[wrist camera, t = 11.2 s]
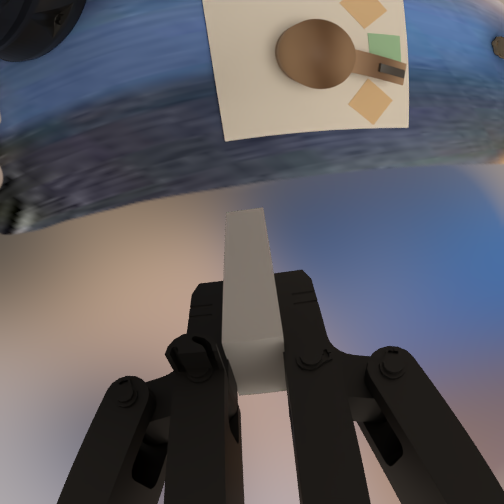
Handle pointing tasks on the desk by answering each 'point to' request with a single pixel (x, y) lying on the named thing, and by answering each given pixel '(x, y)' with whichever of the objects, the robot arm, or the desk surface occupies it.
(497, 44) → the handle
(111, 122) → the desk surface
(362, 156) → the desk surface
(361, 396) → the robot arm
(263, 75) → the board
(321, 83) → the brown frying pan
